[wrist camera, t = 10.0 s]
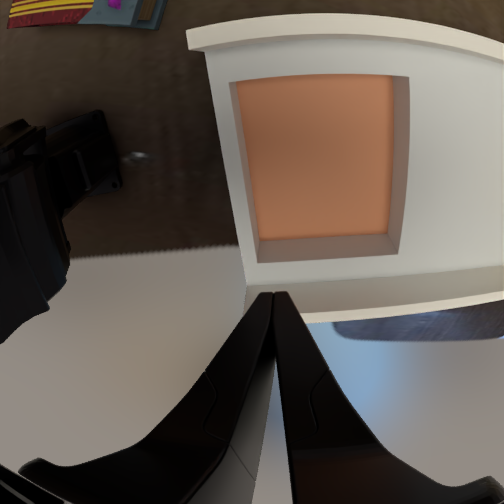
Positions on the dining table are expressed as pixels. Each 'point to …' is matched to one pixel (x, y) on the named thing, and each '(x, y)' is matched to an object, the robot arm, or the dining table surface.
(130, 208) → the dining table surface
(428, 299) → the tray
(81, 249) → the dining table surface
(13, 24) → the decorative book
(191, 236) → the dining table surface
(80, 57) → the dining table surface
